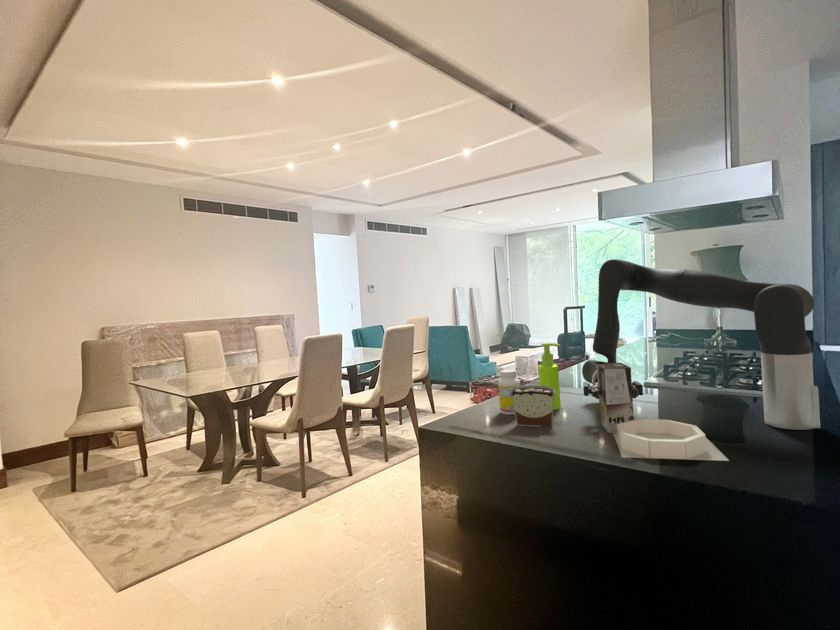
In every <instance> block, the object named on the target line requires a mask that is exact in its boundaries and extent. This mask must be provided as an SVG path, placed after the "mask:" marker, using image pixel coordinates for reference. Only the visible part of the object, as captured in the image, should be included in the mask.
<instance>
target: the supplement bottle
mask: <svg viewBox="0 0 840 630" xmlns="http://www.w3.org/2000/svg"><path fill="white" fill-rule="evenodd" d="M500 376H501V378H500V379H499V380H498V382H497V386H498V398H499V409H500V410H499V411H500V413H501V414H503V415H508V416H511V415H513V416H515V411H514V405H513V400H512V396H510V391H511V389H512V388H515V387H519V386H521V380H520V379H519V378H517V370H515V369H504V370H501V371H500Z"/></svg>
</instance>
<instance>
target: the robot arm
mask: <svg viewBox="0 0 840 630" xmlns="http://www.w3.org/2000/svg"><path fill="white" fill-rule="evenodd" d="M621 291H635V292H643V293H644V292H645V293H649V294H650V293H651V294H654V295H657V296H659V297H661V298H664V299H667V300H669V301H673V302H676V303H682V304H687V305H689V306H690V305H691V306H695V307H697V306H698V307H706V308H718V309H719V308H721V309H722V308H723V309H738V310H744V311H749V312H752V313H753V314H754V315H753V316H754V327H755V335H756V340H757V342H758V344H759V346H760V348H759V349H760V363H761V381H762V385H761V386H762V399H763V401H762V403H763V416H764V423H765V425H768V426H771V427H774V428H779V429H785V430H795V431H796V430H797V431H799V430H800V431H801V430H802V431H805V430H813V429H821V419H820V417H821V416H820V398H819V396H820V395H819V386H817V385H814V376H813V375H814V372H813V356H812V342H811V340H810V339H809V338H808V336H807V333H806V332H807V331H806V320H805V318H806V317H807V316H808V315H809V314H810V313H811V312H813V310H814V306H815V300H814V297H813V295H812V294H811V293H810V292H809V291H808V290H807V289H805V287H802V286H800V285H799V284H798V285H797V284H792V283H770V282H769V283H768V282H757V281H749V280H742V279H739V278H733V277H729V276H725V275H719V274H716V273H710V272H704V271H699V270H693V269H692V270H691V269H686V268H685V269H683V268H653V267H649V266H645V265H641V264H638V263H634V262H631V261H628V260H624V259H617V258H611V259H608V260H606V261H605V262H603V263H602V265H601V267H600V268H599V272H598V297H597V300H598V302H597V306H598V307H597V318H596V319H597V321H596V324H595V325H596V326H595V331H594V332H595V333H594V337H593V343H592V350H593V352H594V353H597V354H598V355H601V356H603V357H605V358H606V359H607V361H601V360H595V359H588V360H586V361H585V362H584V364H583V366H582V369H581V375H582V376H583V379H584V380H585V381H584V382H582V386H583V389H582V391H583V397H589V396H590V395H591V397H592V398H595V399H596V400H599V391H598V379H597V364H606V363H618V362H617V349H618V343H619V337H620V332H621V331H620V330H621V329H620V328H621V327H620V317H619V313H618V311H619V310H618V300H619V295H620V292H621ZM643 395H644V385H643V384H642V383H640V382H639V381H636V380H634V381H632V398H633V399H637V398H638V397H639V396H643Z"/></svg>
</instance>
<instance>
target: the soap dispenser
mask: <svg viewBox="0 0 840 630" xmlns="http://www.w3.org/2000/svg"><path fill="white" fill-rule="evenodd" d="M559 346H561V344H559V343H555V342H550V343H549V342H547V343H542V344H541V347H543V351H544V352H543V354H541V363H542V364H540V365H538V368H537V369H538V383H539V384H538V385H540V386H548V387H552V388H553V389H554V391H555V394H556V398H555V395H554V400H553V411H555V410H560V409H561V407H562V405H561V390H560V389H561V388H560V379H559V377H560V376H559V364H555V363H554V353H552V352H551V349H550V347H557V348H558V347H559Z"/></svg>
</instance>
